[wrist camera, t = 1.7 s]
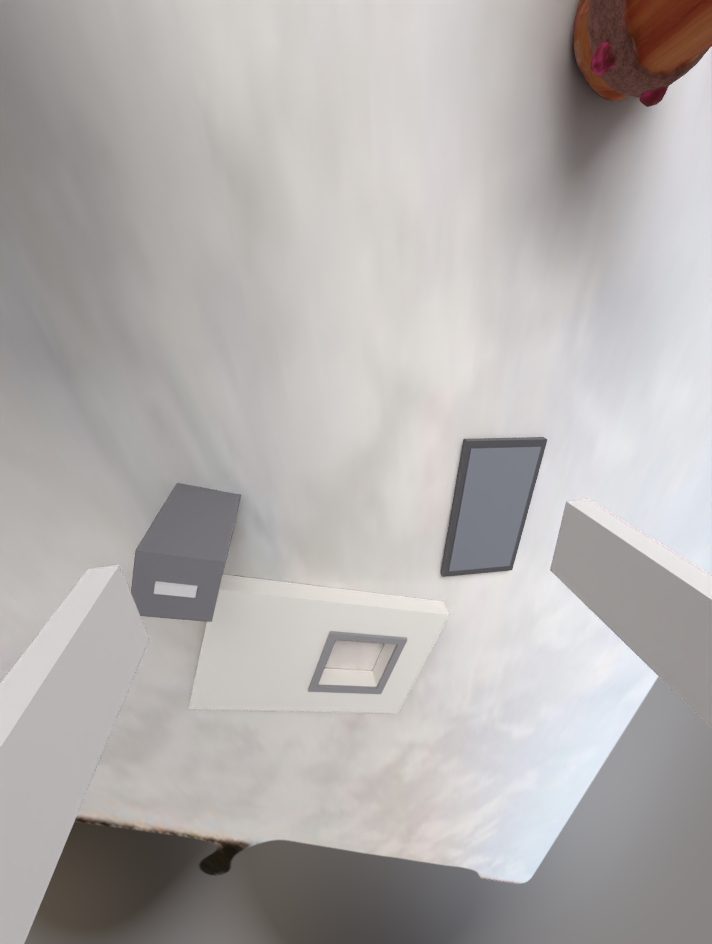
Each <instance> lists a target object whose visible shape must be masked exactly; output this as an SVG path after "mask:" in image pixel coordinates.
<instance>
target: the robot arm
mask: <svg viewBox="0 0 712 944" xmlns="http://www.w3.org/2000/svg"><path fill="white" fill-rule="evenodd" d="M550 570H551V571H552V572H553V573H554V574H555V575H556V576H557V577H558V578H559V579H560V580H561V581H562V582H563V583H564V584H565V585H566V586H567V587H568V588H569V589H570V590H571V591H572V592H573V593H574V594H575V595H576V596H577V597H578V598H579V599H580V600H581V601H582V602H583V603H584V604H585V605H586V606H587V607H588V608H589V609H590V610H591V611H593V612H594V613H595V614H596V615H597V616H598V617H599V618H600V619H601V620H602V621H603V622H604V623H605V624H606V625H607V626H608V627H609V628H610V629H611V630H612V631H613V632H614V633H615V634H616V635H617V636H618V637H619V638H620V639H621V640H622V641H623V642H624V643H625V644H626V645H627V646H628V647H629V648H630V649H631V650H632V651H633V652H634V653H636V654H637V655H638V656H639V657H640V658H641V659H642V660H643V661H644V662H645V663H646V664H647V665H648V666H649V667H650V668H651V669H652V670H653V671H654V672H655V673H656V674H657V675H658V676H659V677H660V678H661V679H662V680H663V681H664V682H665V683H666V684H667V685H668V686H669V687H670V688H671V689H672V690H673V691H675V692H676V694H678V695H679V696H680V697H681V698H682V699H683V700H684V701H685V702H686V703H687V704H688V705H689V706H690V707H691V708H692V709H693V710H694V711H695V712H696V713H697V714H698V715H699V716H700V717H701V718H702V719H703V720H704V721H705V722H706V723H707V724H708V725H709V726H710V727H711V728H712V575H711V574H709V573H708V572H706V571H704V570H703V569H701V568H700V567H698V566H696V565H695V564H693V563H691V562H690V561H688V560H687V559H685V558H683V557H682V556H680V555H678V554H677V553H675V552H674V551H672V550H670V549H669V548H667V547H666V546H664V545H662V544H661V543H659V542H657V541H656V540H654V539H653V538H651V537H649V536H648V535H646V534H645V533H643V532H641V531H640V530H638V529H636V528H635V527H633V526H632V525H630V524H628V523H627V522H625V521H624V520H622V519H620V518H619V517H617V516H615V515H614V514H612V513H611V512H609V511H607V510H606V509H604V508H603V507H601V506H599V505H598V504H596V503H594V502H593V501H591V500H590V499H588V498H586V499H579V500H572V501H566V505H565V509H564V513H563V517H562V522H561V526H560V530H559V534H558V539H557V543H556V547H555V552H554V556H553V560H552V564H551V569H550ZM148 641H149V636H148V634H147V631H146V629H145V627H144V624H143V622H142V619H141V617H140V614H139V612H138V609H137V607H136V604H135V602H134V599H133V597H132V594H131V592H130V589H129V587H128V585H127V582H126V580H125V577H124V575H123V572H122V570H121V567H120V565H113V566H106V567H99V568H92V569H87V571H86V572H85V573H84V575H83V576H82V577H81V578H80V580H79V581H78V582H77V584H76V585H75V586H74V588H73V589H72V590H71V592H70V593H69V594H68V595H67V597H66V598H65V599H64V601H63V602H62V603H61V605H60V606H59V607H58V609H57V610H56V611H55V613H54V614H53V615H52V616H51V618H50V619H49V620H48V622H47V623H46V624H45V626H44V627H43V628H42V630H41V631H40V632H39V634H38V635H37V636H36V637H35V639H34V640H33V641H32V643H31V644H30V645H29V647H28V648H27V649H26V651H25V652H24V653H23V655H22V656H21V657H20V658H19V660H18V661H17V662H16V664H15V665H14V666H13V668H12V669H11V670H10V672H9V673H8V674H7V676H6V677H5V678H4V679H3V681H2V682H1V683H0V944H24V943H25V940H26V938H27V935H28V933H29V930H30V928H31V926H32V923H33V921H34V918H35V916H36V913H37V911H38V909H39V906H40V904H41V901H42V899H43V896H44V894H45V892H46V889H47V887H48V884H49V882H50V879H51V877H52V874H53V872H54V870H55V867H56V865H57V862H58V860H59V857H60V855H61V853H62V850H63V847H64V845H65V843H66V840H67V838H68V836H69V833H70V831H71V828H72V826H73V824H74V821H75V819H76V816H77V814H78V811H79V809H80V807H81V804H82V802H83V799H84V797H85V794H86V792H87V790H88V787H89V785H90V782H91V780H92V777H93V775H94V773H95V770H96V768H97V765H98V763H99V760H100V758H101V755H102V753H103V751H104V748H105V746H106V743H107V741H108V738H109V736H110V734H111V731H112V729H113V726H114V724H115V721H116V719H117V717H118V714H119V712H120V709H121V707H122V704H123V702H124V700H125V697H126V695H127V692H128V690H129V687H130V685H131V683H132V680H133V678H134V675H135V673H136V670H137V668H138V666H139V663H140V661H141V658H142V656H143V653H144V651H145V649H146V646H147V644H148Z"/></svg>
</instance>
